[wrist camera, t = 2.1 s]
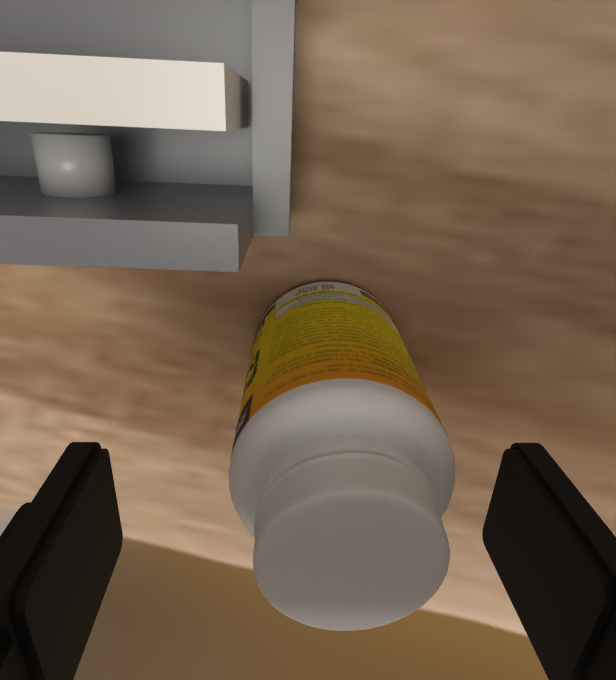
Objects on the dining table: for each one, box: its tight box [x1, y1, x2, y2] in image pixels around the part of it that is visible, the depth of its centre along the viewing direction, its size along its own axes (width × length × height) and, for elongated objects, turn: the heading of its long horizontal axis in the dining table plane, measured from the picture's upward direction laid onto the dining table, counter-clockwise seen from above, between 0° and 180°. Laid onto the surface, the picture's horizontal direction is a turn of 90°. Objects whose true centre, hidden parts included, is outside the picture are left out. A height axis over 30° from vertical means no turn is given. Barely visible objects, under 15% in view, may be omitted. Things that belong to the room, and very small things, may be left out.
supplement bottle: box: [229, 282, 455, 631], centre depth 14 cm, size 6×6×10 cm
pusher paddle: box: [0, 52, 249, 131], centre depth 11 cm, size 8×1×5 cm, turn 87°
